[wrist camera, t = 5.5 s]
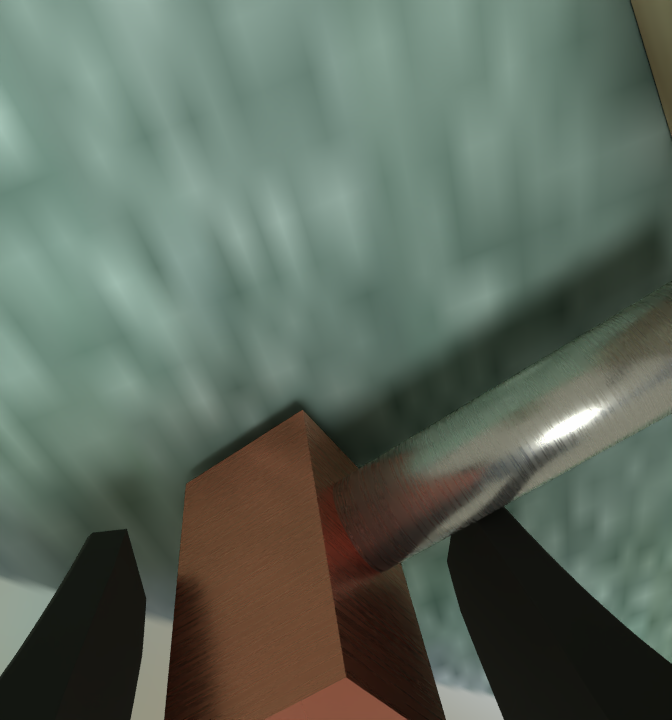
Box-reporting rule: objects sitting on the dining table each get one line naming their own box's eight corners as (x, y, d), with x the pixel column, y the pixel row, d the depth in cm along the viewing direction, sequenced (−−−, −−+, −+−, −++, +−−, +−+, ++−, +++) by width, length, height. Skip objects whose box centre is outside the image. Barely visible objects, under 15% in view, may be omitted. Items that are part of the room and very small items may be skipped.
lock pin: (708, 299, 12) (1005, 497, 7) (273, 553, 14) (292, 828, 9) (669, 175, 10) (1017, 329, 6) (186, 484, 12) (159, 773, 8)
